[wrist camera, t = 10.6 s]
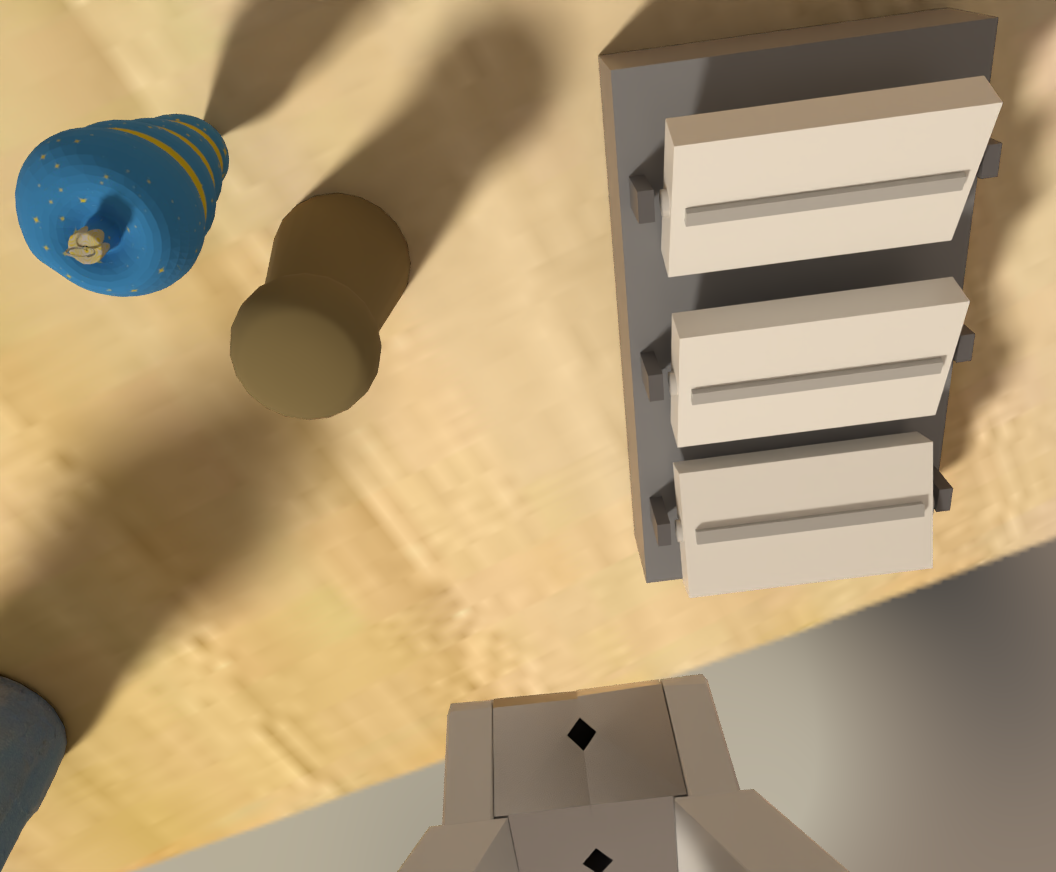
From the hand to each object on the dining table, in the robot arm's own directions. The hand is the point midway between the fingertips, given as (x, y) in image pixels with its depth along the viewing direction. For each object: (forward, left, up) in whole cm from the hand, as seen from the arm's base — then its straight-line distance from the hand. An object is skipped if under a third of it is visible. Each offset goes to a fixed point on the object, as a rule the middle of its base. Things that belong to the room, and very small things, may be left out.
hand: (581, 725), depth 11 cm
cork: (+4, -8, -31) cm, 33 cm away
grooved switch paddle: (+16, +11, -25) cm, 32 cm away
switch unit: (+9, +11, -31) cm, 34 cm away
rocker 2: (+9, +11, -25) cm, 29 cm away
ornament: (-2, -12, -31) cm, 34 cm away
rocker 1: (+1, +11, -25) cm, 27 cm away
